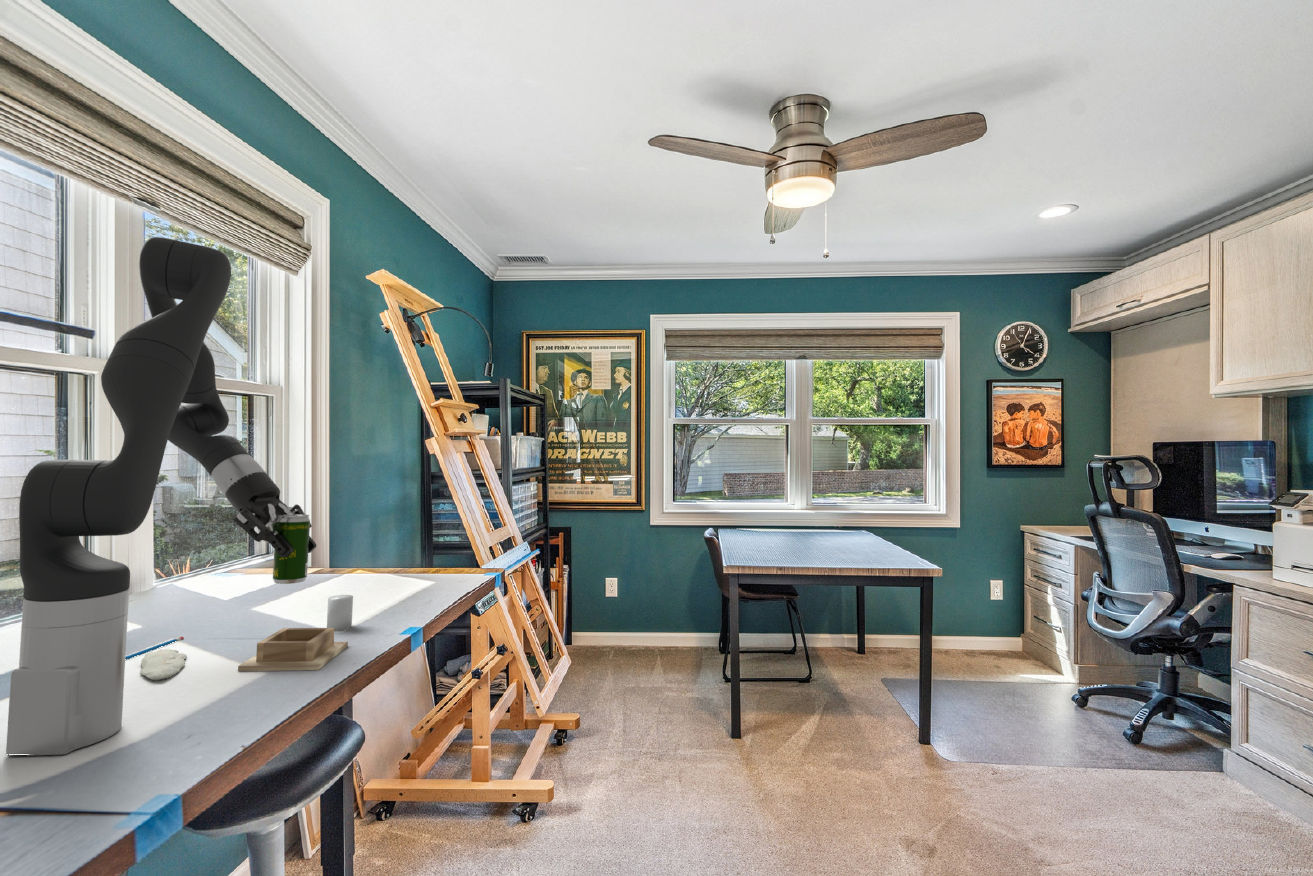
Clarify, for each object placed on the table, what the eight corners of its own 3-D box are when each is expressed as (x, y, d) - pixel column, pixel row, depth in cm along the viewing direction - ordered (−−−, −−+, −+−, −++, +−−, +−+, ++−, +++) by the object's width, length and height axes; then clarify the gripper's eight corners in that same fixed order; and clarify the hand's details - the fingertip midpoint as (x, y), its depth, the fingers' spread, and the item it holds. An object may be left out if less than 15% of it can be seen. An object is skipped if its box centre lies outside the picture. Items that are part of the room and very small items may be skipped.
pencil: (184, 640, 109) (184, 636, 109) (92, 674, 92) (93, 670, 92) (179, 640, 109) (180, 636, 109) (87, 674, 92) (88, 669, 92)
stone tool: (141, 663, 99) (136, 687, 87) (143, 649, 99) (138, 671, 87) (185, 658, 102) (186, 680, 91) (187, 645, 103) (188, 666, 91)
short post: (346, 630, 117) (348, 599, 117) (322, 631, 116) (324, 599, 116) (355, 624, 121) (356, 594, 121) (332, 624, 121) (333, 594, 121)
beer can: (304, 577, 113) (308, 513, 113) (308, 582, 108) (312, 516, 109) (271, 580, 110) (274, 514, 110) (273, 585, 105) (277, 516, 106)
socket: (318, 670, 96) (319, 646, 96) (237, 671, 94) (239, 646, 94) (347, 646, 108) (348, 624, 108) (276, 647, 106) (277, 625, 106)
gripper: (227, 470, 104) (285, 543, 102) (288, 470, 118) (340, 534, 116) (197, 500, 104) (255, 572, 102) (262, 496, 119) (314, 560, 116)
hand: (300, 551), depth 109 cm, fingers closed on beer can, 5 cm apart
